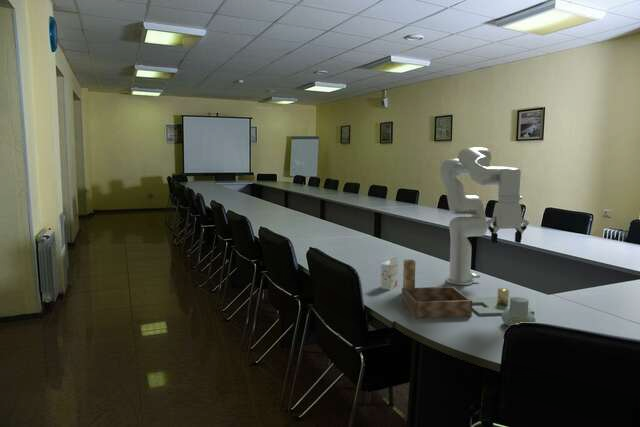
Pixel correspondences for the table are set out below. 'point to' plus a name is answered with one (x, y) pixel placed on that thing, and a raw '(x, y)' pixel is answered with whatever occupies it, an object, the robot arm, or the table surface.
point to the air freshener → (517, 312)
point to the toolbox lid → (493, 304)
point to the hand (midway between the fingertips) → (506, 242)
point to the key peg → (409, 274)
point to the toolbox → (436, 302)
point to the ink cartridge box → (389, 273)
